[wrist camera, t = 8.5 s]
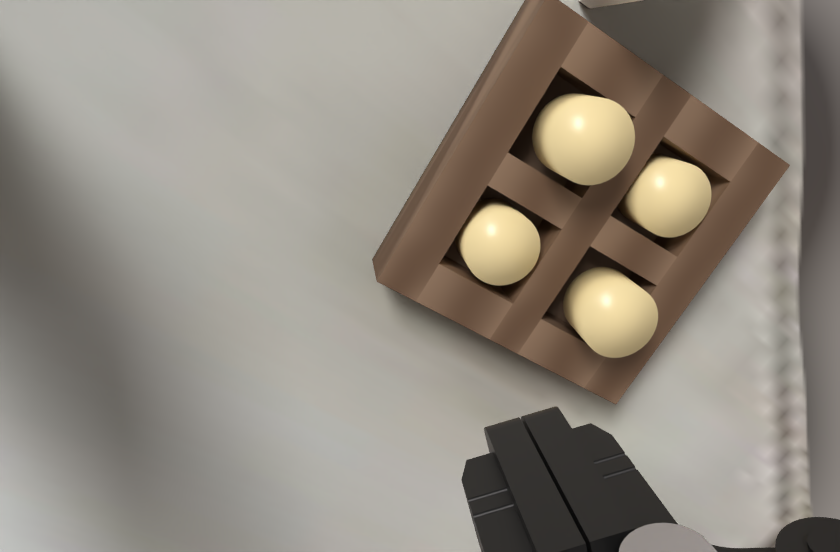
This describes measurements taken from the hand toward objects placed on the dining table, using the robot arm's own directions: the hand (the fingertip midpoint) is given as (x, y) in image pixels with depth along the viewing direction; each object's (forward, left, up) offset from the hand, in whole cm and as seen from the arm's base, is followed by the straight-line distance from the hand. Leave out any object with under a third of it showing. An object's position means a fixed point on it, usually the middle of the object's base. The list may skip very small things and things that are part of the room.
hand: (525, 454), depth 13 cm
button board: (+10, +4, -27) cm, 29 cm away
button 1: (+6, +1, -26) cm, 26 cm away
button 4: (+13, +8, -26) cm, 30 cm away
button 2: (+13, 0, -23) cm, 27 cm away
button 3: (+6, +8, -23) cm, 25 cm away
